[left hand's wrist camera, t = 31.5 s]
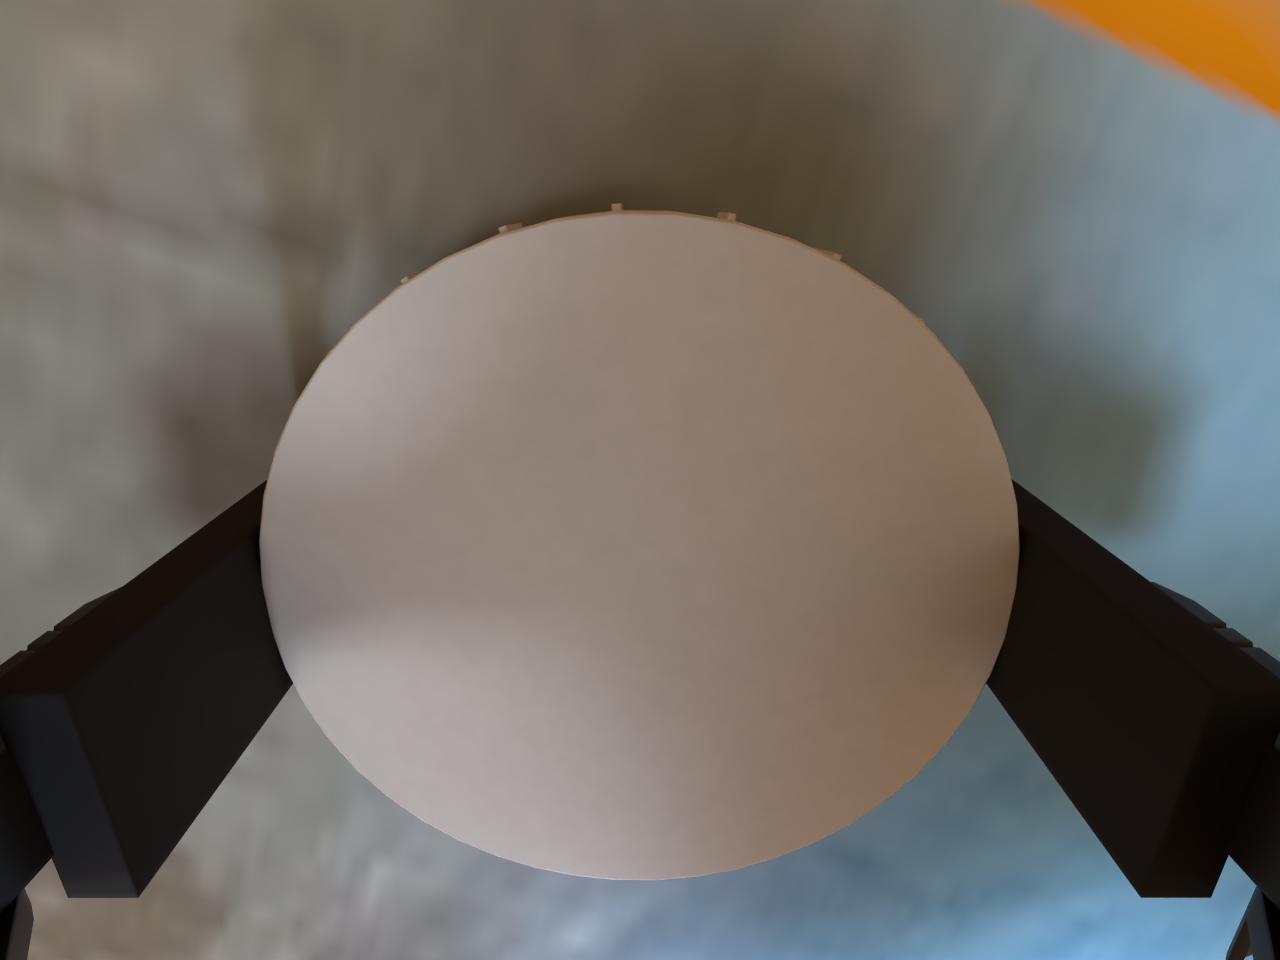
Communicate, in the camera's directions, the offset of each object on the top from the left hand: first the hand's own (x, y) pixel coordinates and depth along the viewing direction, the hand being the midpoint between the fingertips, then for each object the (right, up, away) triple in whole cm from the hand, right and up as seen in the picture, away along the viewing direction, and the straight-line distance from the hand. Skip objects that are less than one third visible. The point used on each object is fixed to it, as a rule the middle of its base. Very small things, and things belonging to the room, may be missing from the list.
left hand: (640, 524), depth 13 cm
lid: (0, -1, -3) cm, 3 cm away
